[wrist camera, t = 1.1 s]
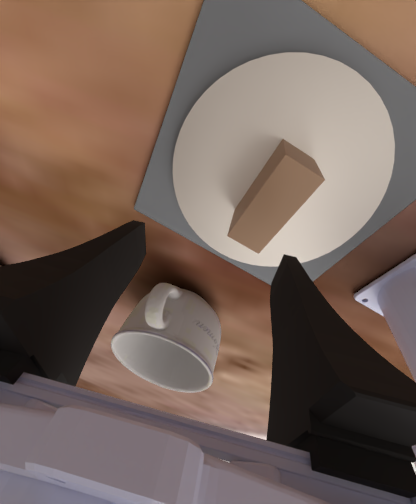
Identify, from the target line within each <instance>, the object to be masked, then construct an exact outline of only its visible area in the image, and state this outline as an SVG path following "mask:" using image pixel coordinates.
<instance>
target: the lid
mask: <svg viewBox="0 0 416 504" xmlns="http://www.w3.org/2000/svg"><path fill="white" fill-rule="evenodd" d="M394 156H395V141H394V133H393V127H392V123H391V120H390V117H389V113H388V111H387V109H386V107H385V105H384V103H383V101H382V99H381V97H380V96H379V95H378V93H377V92H376V91H375V89H374V88H373V87H372V85H371V84H370V83H369V82H368V81H367V80H366V79H364V78H363V77H362V76H361V75H360V74H359V73H358V72H357V71H355V70H353V69H352V68H350V67H348V66H347V65H345V64H343V63H342V62H339V61H337V60H334V59H331V58H328V57H326V56H322V55H317V54H311V53H306V52H285V53H278V54H272V55H267V56H263V57H260V58H257V59H254V60H251V61H248V62H246V63H244V64H242V65H240V66H238V67H236V68H234V69H233V70H231V71H230V72H228V73H227V74H225V75H224V76H222V77H221V78H219V79H218V80H217V81H216V82H215V83H214V84H213V85H211V86H210V87H209V88H208V89H207V90H206V91H205V92H204V93H203V95H202V96H201V97H200V98H199V99H198V100H197V102H196V103H195V104H194V106H193V107H192V109H191V111H190V112H189V114H188V115H187V117H186V119H185V121H184V123H183V125H182V128H181V130H180V132H179V135H178V139H177V142H176V145H175V151H174V156H173V184H174V189H175V194H176V198H177V201H178V204H179V207H180V209H181V211H182V213H183V215H184V217H185V219H186V220H187V222H188V224H189V225H190V227H191V228H192V229H193V230H194V232H195V233H196V234H197V235H198V236H199V237H200V238H201V239H202V240H203V241H204V242H205V243H206V244H208V245H209V246H210V247H211V248H213V249H214V250H216V251H218V252H219V253H221V254H223V255H225V256H227V257H229V258H231V259H234V260H237V261H239V262H243V263H247V264H251V265H257V266H269V267H276V266H279V264H280V262H281V260H282V257H283V255H284V254H285V255H289V256H294V257H297V259H298V260H299V262H300V263H303V262H307V261H310V260H313V259H315V258H318V257H320V256H323V255H325V254H327V253H329V252H331V251H332V250H334V249H336V248H337V247H339V246H341V245H342V244H343V243H345V242H346V241H347V240H349V239H350V238H351V237H353V236H354V235H355V234H356V233H357V232H358V231H359V230H360V229H361V228H362V227H363V226H364V225H365V224H366V222H367V221H368V220H369V219H370V218H371V216H372V215H373V213H374V212H375V210H376V209H377V207H378V206H379V204H380V202H381V200H382V198H383V196H384V194H385V192H386V190H387V187H388V184H389V182H390V179H391V175H392V170H393V165H394Z"/></svg>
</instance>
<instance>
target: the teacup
mask: <svg viewBox="0 0 416 504" xmlns="http://www.w3.org/2000/svg"><path fill="white" fill-rule="evenodd" d="M220 340H221V325H220V321H219V318H218V316H217V314H216V313H215V311H214V310H213V309H212V307H211V306H210V305H209V304H208V303H207V302H206V301H205V300H204V299H203V298H202V297H200V296H199V295H197V294H195V293H194V292H191V291H188V290H185V289H180V288H179V287H177V286H174V285H172V284H169V283H159V284H157V285H156V286H155V287H154V288H153V289H152V290H151V292H150V293H149V294H147V295H146V296H145V297H143V298H142V299H141V300H140V302H139V303H138V304H137V305H136V307H135V308H134V309H133V311H132V312H131V314H130V315H129V316H128V318H127V319H126V321H125V322H124V324H123V325H122V327H121V328H120V330H119V331H118V332H117V333H116V334H115V335H114V336H113V338H112V341H111V348H112V351H113V353H114V355H115V356H116V358H117V359H118V360H119V361H120V362H121V363H122V364H123V365H124V366H125V367H126V368H128V369H129V370H130V371H132V372H133V373H134V374H136V375H138V376H139V377H141V378H143V379H145V380H147V381H149V382H151V383H153V384H156V385H158V386H160V387H163V388H167V389H170V390H174V391H179V392H191V393H192V392H200V391H204V390H205V389H207V388H209V387H210V386H211V384H212V382H213V371H214V368H215V364H216V359H217V355H218V351H219V345H220Z"/></svg>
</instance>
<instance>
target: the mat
mask: <svg viewBox="0 0 416 504" xmlns="http://www.w3.org/2000/svg"><path fill="white" fill-rule="evenodd" d="M285 52H306V53H311V54H317V55H322V56H326V57H328V58H331V59H334V60H337V61H339V62H342V63H343V64H345V65H347V66H348V67H350V68H352V69H353V70H355V71H357V72H358V73H359V74H360V75H361V76H362V77H363V78H364V79H366V80H367V81H368V82H369V83H370V84H371V85H372V87H373V88H374V89H375V91H376V92H377V93H378V95H379V96H380V97H381V99H382V101H383V103H384V105H385V107H386V109H387V111H388V113H389V117H390V120H391V123H392V127H393V133H394V141H395V156H394V165H393V170H392V175H391V179H390V182H389V184H388V187H387V190H386V192H385V194H384V196H383V198H382V200H381V202H380V204H379V206H378V207H377V209H376V210H375V212H374V213H373V215H372V216H371V218H370V219H369V220H368V221H367V222H366V224H365V225H364V226H363V227H362V228H361V229H360V230H359V231H358V232H357V233H356V234H355V235H354V236H353V237H351V238H350V239H349V240H347V241H346V242H345V243H343V244H342V245H341V246H339V247H337V248H336V249H334V250H332V251H331V252H329V253H327V254H325V255H323V256H320V257H318V258H315V259H313V260H310V261H307V262H303V263H301V265H302V267H303V268H304V270H305V271H306V273H307V274H308V276H309V277H310V279H311V280H312V282H313V281H314V280H315V279H317V278H318V277H319V276H320V275H322V274H323V273H324V272H325V271H327V270H328V269H329V268H330V267H332V266H333V265H334V264H335V263H337V262H338V261H339V260H340V259H342V258H343V257H344V256H346V255H347V254H348V253H349V252H351V251H352V250H353V249H354V248H356V247H357V246H358V245H359V244H361V243H362V242H363V241H364V240H366V239H367V238H368V237H369V236H371V235H372V234H373V233H374V232H376V231H377V230H378V229H379V228H381V227H382V226H383V225H384V224H386V223H387V222H388V221H389V220H391V219H392V218H393V217H395V216H396V215H397V214H398V213H400V212H401V211H402V210H403V209H405V208H406V207H407V206H408V205H410V204H411V203H412V202H413V201H415V200H416V87H415V86H414V85H412V84H411V83H410V82H409V81H407V80H406V79H405V78H403V77H402V76H401V75H399V74H398V73H397V72H395V71H394V70H393V69H391V68H390V67H389V66H387V65H386V64H385V63H383V62H382V61H381V60H379V59H378V58H377V57H375V56H374V55H373V54H371V53H370V52H369V51H368V50H366V49H365V48H364V47H362V46H361V45H360V44H358V43H357V42H356V41H354V40H353V39H352V38H350V37H349V36H348V35H346V34H345V33H344V32H342V31H341V30H340V29H338V28H337V27H336V26H334V25H333V24H332V23H330V22H329V21H328V20H326V19H325V18H324V17H323V16H321V15H320V14H319V13H317V12H316V11H315V10H313V9H312V8H311V7H309V6H308V5H307V4H305V3H304V2H303V1H301V0H204V2H203V5H202V8H201V11H200V14H199V17H198V20H197V23H196V26H195V29H194V32H193V35H192V38H191V41H190V44H189V47H188V49H187V52H186V55H185V58H184V61H183V64H182V67H181V70H180V73H179V76H178V79H177V82H176V85H175V88H174V91H173V94H172V97H171V100H170V103H169V106H168V109H167V112H166V115H165V118H164V121H163V124H162V127H161V130H160V133H159V136H158V139H157V141H156V144H155V147H154V150H153V153H152V156H151V159H150V162H149V165H148V168H147V171H146V174H145V177H144V180H143V183H142V186H141V189H140V192H139V195H138V198H137V201H136V204H135V207H134V209H135V210H137V211H138V212H140V213H142V214H144V215H146V216H147V217H149V218H151V219H153V220H155V221H156V222H158V223H160V224H162V225H164V226H165V227H167V228H169V229H171V230H173V231H174V232H176V233H178V234H180V235H181V236H183V237H185V238H187V239H189V240H190V241H192V242H194V243H196V244H198V245H199V246H201V247H203V248H205V249H207V250H208V251H210V252H212V253H214V254H216V255H217V256H219V257H221V258H223V259H225V260H226V261H228V262H230V263H232V264H234V265H235V266H237V267H239V268H241V269H243V270H244V271H246V272H248V273H250V274H252V275H253V276H255V277H257V278H259V279H261V280H262V281H264V282H266V283H268V284H269V285H271V283H272V280H273V278H274V276H275V273H276V271H277V269H278V267H279V266H276V267H269V266H257V265H251V264H247V263H243V262H239V261H237V260H234V259H231V258H229V257H227V256H225V255H223V254H221V253H219V252H218V251H216V250H214V249H213V248H211V247H210V246H209V245H208V244H206V243H205V242H204V241H203V240H202V239H201V238H200V237H199V236H198V235H197V234H196V233H195V232H194V230H193V229H192V228H191V227H190V225H189V224H188V222H187V220H186V219H185V217H184V215H183V213H182V211H181V209H180V207H179V204H178V201H177V198H176V194H175V189H174V184H173V156H174V151H175V145H176V142H177V139H178V135H179V132H180V130H181V128H182V125H183V123H184V121H185V119H186V117H187V115H188V114H189V112H190V111H191V109H192V107H193V106H194V104H195V103H196V102H197V100H198V99H199V98H200V97H201V96H202V95H203V93H204V92H205V91H206V90H207V89H208V88H209V87H210V86H211V85H213V84H214V83H215V82H216V81H217V80H218V79H219V78H221V77H222V76H224V75H225V74H227V73H228V72H230V71H231V70H233V69H234V68H236V67H238V66H240V65H242V64H244V63H246V62H248V61H251V60H254V59H257V58H260V57H263V56H267V55H272V54H278V53H285Z"/></svg>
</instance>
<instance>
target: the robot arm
mask: <svg viewBox="0 0 416 504" xmlns="http://www.w3.org/2000/svg"><path fill="white" fill-rule="evenodd" d="M145 255H146V242H145V223H143V222H138V221H134V220H133V221H131V222H129V223H126V224H124V225H122V226H120V227H118V228H116V229H114V230H112V231H110V232H108V233H106V234H104V235H102V236H100V237H97V238H95V239H93V240H90V241H88V242H86V243H83V244H81V245H79V246H76V247H73V248H71V249H68V250H65V251H62V252H59V253H55V254H52V255H48V256H45V257H41V258H37V259H34V260H30V261H25V262H21V263H16V264H11V265H6V266H0V504H416V475H415V472H414V470H413V467H412V464H411V462H414V463H415V466H416V254H415V255H413V256H411V257H410V258H408V259H407V260H405V261H404V262H402V263H401V264H399V265H398V266H396V267H395V268H393V269H392V270H390V271H389V272H387V273H385V274H384V275H382V276H381V277H379V278H378V279H376V280H375V281H373V282H372V283H370V284H369V285H367V286H366V287H364V288H363V289H361V290H359V291H358V292H356V293H355V294H354V298H355V300H356V301H358V302H360V303H361V304H363V305H365V306H366V307H368V308H370V309H372V310H373V311H375V312H377V313H379V314H380V315H382V316H384V317H385V319H386V321H387V323H388V325H389V328H390V330H391V332H392V334H393V336H394V338H395V340H396V342H397V344H398V346H399V349H400V351H401V353H402V355H403V357H404V359H405V361H406V363H407V365H408V367H409V370H410V372H411V374H412V376H413V378H414V380H415V382H414V381H413V380H412V379H410V378H409V377H408V376H406V375H405V374H404V373H402V372H401V371H400V370H398V369H397V368H396V367H394V366H393V365H392V364H391V363H389V362H388V361H387V360H386V359H385V358H383V357H382V356H381V355H380V354H379V353H377V352H376V351H375V350H374V349H373V348H372V347H371V346H369V345H368V344H367V343H366V342H365V341H364V340H363V339H362V338H361V337H360V336H359V335H358V334H357V333H355V332H354V331H353V330H352V329H351V328H350V327H349V326H348V325H347V324H346V322H345V321H344V320H343V319H342V318H341V317H340V316H339V315H338V314H337V313H336V312H335V310H334V309H333V308H332V307H331V306H330V304H329V303H328V302H327V301H326V299H325V298H324V297H323V296H322V294H321V293H320V291H319V290H318V289H317V287H316V286H315V285H314V283H313V282H312V280H311V279H310V277H309V276H308V274H307V273H306V271H305V270H304V268H303V267H302V265H301V263H300V262H299V260H298V259H297V257H294V256H289V255H285V254H284V255H283V257H282V260H281V262H280V264H279V267H278V269H277V271H276V273H275V276H274V278H273V280H272V283H271V293H270V308H271V323H272V337H273V362H272V382H271V397H270V411H269V421H268V432H267V440H263V439H260V438H256V437H253V436H249V435H246V434H242V433H239V432H235V431H231V430H228V429H224V428H221V427H217V426H214V425H210V424H207V423H203V422H199V421H196V420H192V419H189V418H185V417H182V416H178V415H175V414H171V413H167V412H164V411H160V410H157V409H153V408H150V407H146V406H143V405H139V404H135V403H132V402H128V401H125V400H121V399H118V398H114V397H111V396H107V395H103V394H100V393H96V392H93V391H89V390H86V389H82V388H79V387H75V386H76V383H77V381H78V379H79V376H80V374H81V372H82V369H83V367H84V365H85V362H86V360H87V358H88V356H89V354H90V352H91V350H92V347H93V345H94V343H95V341H96V339H97V337H98V335H99V333H100V331H101V329H102V327H103V325H104V323H105V321H106V319H107V318H108V316H109V314H110V312H111V310H112V308H113V307H114V305H115V303H116V302H117V300H118V299H119V297H120V296H121V294H122V293H123V291H124V290H125V288H126V287H127V286H128V284H129V283H130V281H131V280H132V278H133V277H134V275H135V274H136V272H137V271H138V269H139V267H140V265H141V263H142V261H143V259H144V257H145ZM218 458H219V459H218ZM221 459H222V460H221ZM223 460H226V461H229V462H230V463H228V462H226V461H223Z"/></svg>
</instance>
